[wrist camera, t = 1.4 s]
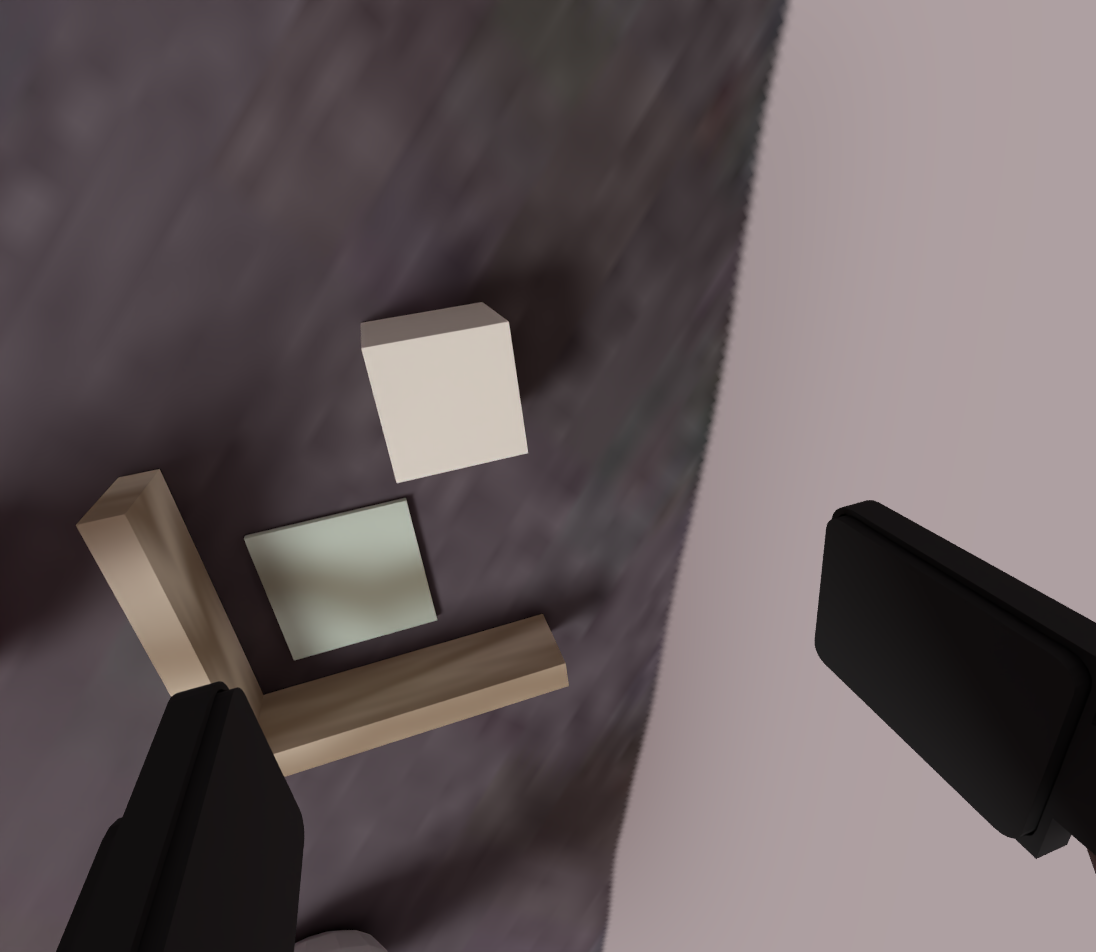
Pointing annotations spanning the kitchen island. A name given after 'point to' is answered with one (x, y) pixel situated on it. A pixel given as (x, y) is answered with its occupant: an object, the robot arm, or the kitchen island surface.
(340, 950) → the soap bottle
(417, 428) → the cube
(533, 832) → the kitchen island surface
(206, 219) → the kitchen island surface
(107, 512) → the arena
